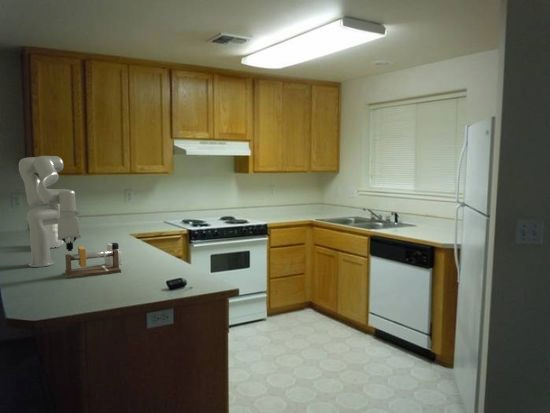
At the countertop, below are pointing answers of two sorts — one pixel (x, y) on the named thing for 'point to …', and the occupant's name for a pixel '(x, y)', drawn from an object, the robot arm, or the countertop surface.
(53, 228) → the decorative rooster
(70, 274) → the pipe stand
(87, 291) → the countertop surface
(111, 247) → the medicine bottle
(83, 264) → the collar
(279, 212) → the countertop surface
